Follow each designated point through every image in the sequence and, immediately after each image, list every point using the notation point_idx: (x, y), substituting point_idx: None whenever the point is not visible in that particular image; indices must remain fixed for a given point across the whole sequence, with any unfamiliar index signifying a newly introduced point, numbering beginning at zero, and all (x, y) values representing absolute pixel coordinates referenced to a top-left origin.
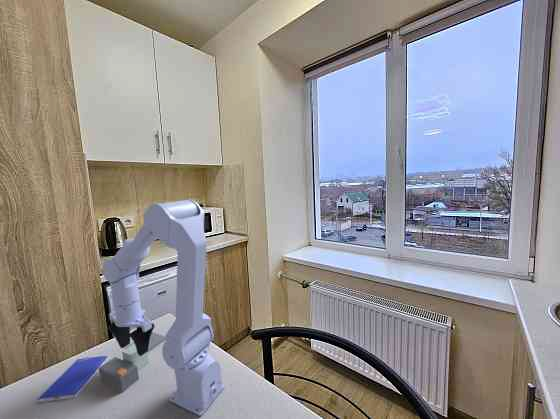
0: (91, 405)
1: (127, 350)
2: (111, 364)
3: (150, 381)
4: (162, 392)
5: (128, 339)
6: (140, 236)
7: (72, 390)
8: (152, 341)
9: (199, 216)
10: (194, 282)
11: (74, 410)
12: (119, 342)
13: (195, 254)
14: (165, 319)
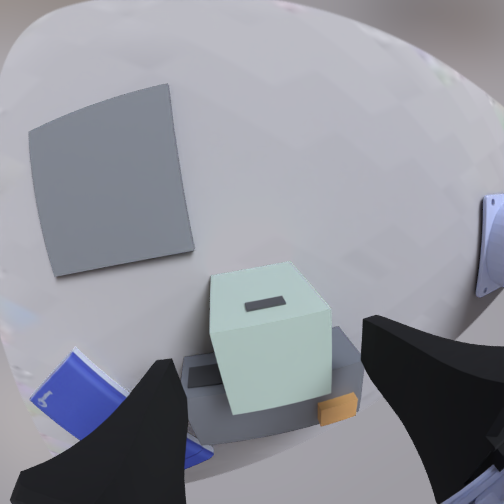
0: (293, 431)
1: (258, 397)
2: (229, 421)
3: (387, 302)
4: (447, 295)
5: (166, 384)
6: None
7: (193, 457)
8: (122, 159)
9: None
10: None
11: (267, 451)
12: (185, 442)
13: None
14: (16, 42)
